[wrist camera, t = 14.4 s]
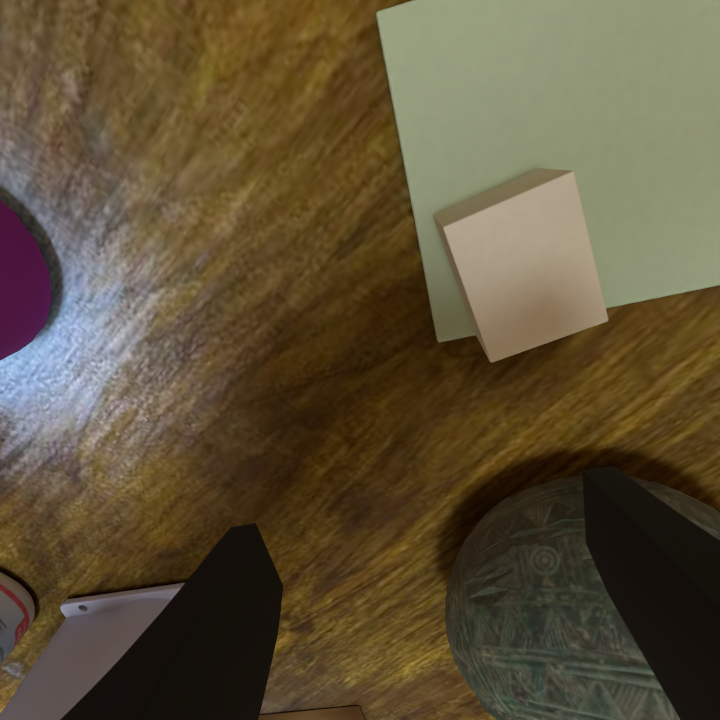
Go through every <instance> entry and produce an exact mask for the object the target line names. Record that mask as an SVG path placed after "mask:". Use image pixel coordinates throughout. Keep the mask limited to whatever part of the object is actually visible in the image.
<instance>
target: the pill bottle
mask: <svg viewBox="0 0 720 720" xmlns="http://www.w3.org/2000/svg"><path fill="white" fill-rule="evenodd" d="M34 615H35V606H34V603H33V600H32V597H31V596H30V594H29V593H28V591H27V590H26V589H25V588H24V587H23V586H22V585H21V584H19V583H18V582H17V581H15V580H14V579H12V578H10V577H9V576H7V575H5V574H4V573H2V572H0V666H1V664H2V663H3V662H4V660H5V659H6V658H7V656H8V655H9V654H10V652H11V651H12V650H13V648H14V647H15V646H16V644H17V643H18V642H19V640H20V639H21V638H22V636H23V635H24V634H25V632H26V631H27V629H28V628H29V627H30V625H31V623H32V621H33V619H34Z"/></svg>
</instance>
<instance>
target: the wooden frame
mask: <svg viewBox="0 0 720 720" xmlns="http://www.w3.org/2000/svg"><path fill="white" fill-rule="evenodd" d="M258 720H365V719H364V716H363V714H362V712H361V709H360V707H359V706H350V707H340V708H329V709H319V710H309V711H298V712H288V713H277V714H267V715H259V719H258Z"/></svg>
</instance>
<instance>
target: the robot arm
mask: <svg viewBox="0 0 720 720" xmlns="http://www.w3.org/2000/svg"><path fill="white" fill-rule="evenodd" d="M582 478H583V497H584V516H585V534H586V544H587V547H588V549H589V551H590V554H591V556H592V558H593V561H594V563H595V566H596V568H597V570H598V572H599V575H600V577H601V579H602V581H603V583H604V586H605V588H606V590H607V592H608V594H609V596H610V598H611V600H612V601H613V603H614V605H615V607H616V608H617V610H618V612H619V614H620V615H621V617H622V619H623V621H624V622H625V624H626V626H627V628H628V629H629V631H630V633H631V635H632V636H633V638H634V640H635V642H636V643H637V645H638V647H639V649H640V650H641V652H642V654H643V656H644V657H645V659H646V661H647V663H648V664H649V666H650V668H651V669H652V671H653V673H654V675H655V676H656V678H657V680H658V682H659V683H660V685H661V687H662V689H663V690H664V692H665V694H666V696H667V697H668V699H669V701H670V703H671V704H672V706H673V708H674V709H675V711H676V713H677V715H678V717H679V718H680V720H720V540H719V539H717V538H716V537H714V536H713V535H711V534H710V533H708V532H707V531H705V530H704V529H702V528H701V527H699V526H698V525H696V524H695V523H693V522H692V521H690V520H689V519H687V518H686V517H684V516H683V515H682V514H680V513H679V512H677V511H676V510H674V509H673V508H672V507H670V506H669V505H667V504H666V503H664V502H663V501H662V500H660V499H659V498H657V497H656V496H655V495H653V494H652V493H650V492H649V491H648V490H646V489H645V488H643V487H642V486H641V485H639V484H638V483H636V482H635V481H634V480H632V479H631V478H630V477H628V476H627V475H625V474H624V473H622V472H621V471H620V470H618V469H617V468H615V467H614V466H609V467H603V468H597V469H591V470H584V471H582ZM282 591H283V584H282V582H281V580H280V578H279V575H278V573H277V571H276V568H275V566H274V564H273V562H272V559H271V557H270V555H269V552H268V550H267V548H266V546H265V543H264V541H263V539H262V536H261V534H260V532H259V530H258V527H257V525H256V523H254V524H248V525H242V526H236V527H231V528H230V529H229V530H228V531H227V532H226V534H225V535H224V536H223V537H222V538H221V539H220V541H219V542H218V543H217V544H216V546H215V547H214V548H213V549H212V550H211V552H210V553H209V554H208V555H207V557H206V558H205V559H204V560H203V562H202V563H201V564H200V565H199V567H198V568H197V569H196V570H195V572H194V573H193V574H192V575H191V577H190V578H189V579H188V580H187V581H186V583H179V584H172V585H165V586H158V587H151V588H144V589H137V590H130V591H123V592H116V593H109V594H102V595H95V596H88V597H81V598H74V599H67V600H65V601H64V602H63V603H62V605H61V606H60V610H61V612H62V613H63V614H64V616H65V617H66V619H65V620H64V622H63V623H62V625H61V626H60V628H59V629H58V631H57V632H56V634H55V635H54V636H53V638H52V639H51V641H50V642H49V644H48V645H47V647H46V648H45V650H44V651H43V653H42V654H41V656H40V657H39V658H38V660H37V661H36V663H35V664H34V666H33V667H32V669H31V670H30V672H29V673H28V675H27V676H26V677H25V679H24V680H23V682H22V683H21V685H20V686H19V688H18V689H17V691H16V692H15V694H14V695H13V697H12V698H11V699H10V701H9V702H8V704H7V705H6V707H5V708H4V710H3V711H2V713H1V714H0V720H258V719H259V715H260V710H261V706H262V702H263V697H264V693H265V689H266V684H267V680H268V676H269V671H270V667H271V662H272V658H273V653H274V649H275V644H276V640H277V635H278V628H279V620H280V612H281V601H282Z"/></svg>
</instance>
